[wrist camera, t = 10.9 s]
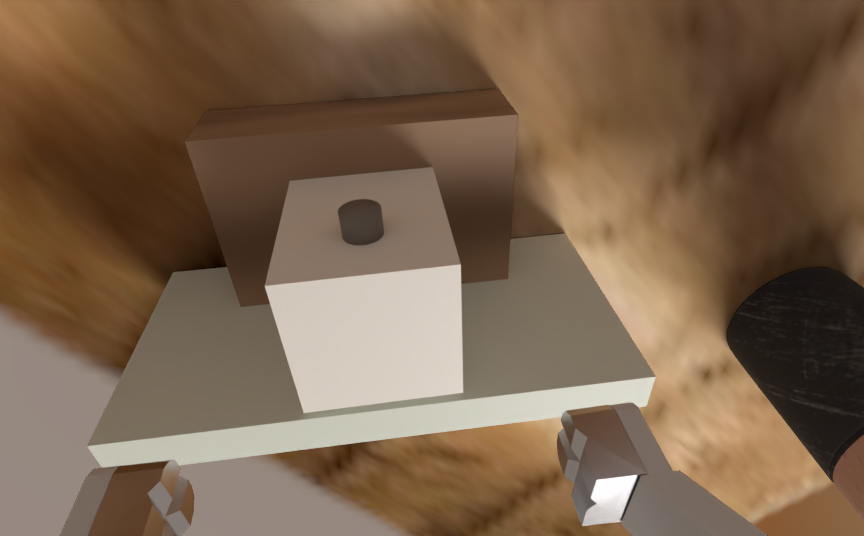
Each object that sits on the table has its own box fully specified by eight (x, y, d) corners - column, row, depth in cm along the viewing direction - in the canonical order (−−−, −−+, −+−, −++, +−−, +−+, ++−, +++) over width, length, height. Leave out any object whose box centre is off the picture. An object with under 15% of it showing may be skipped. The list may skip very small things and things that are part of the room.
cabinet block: (284, 158, 17) (256, 260, 12) (431, 145, 18) (460, 238, 13) (316, 293, 21) (304, 413, 16) (438, 279, 21) (463, 392, 16)
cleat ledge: (206, 110, 19) (184, 141, 16) (498, 88, 20) (518, 114, 17) (252, 264, 23) (240, 306, 21) (492, 240, 24) (508, 278, 21)
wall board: (173, 272, 23) (86, 446, 15) (565, 233, 24) (655, 376, 17) (183, 298, 24) (107, 474, 16) (561, 259, 25) (646, 406, 18)
